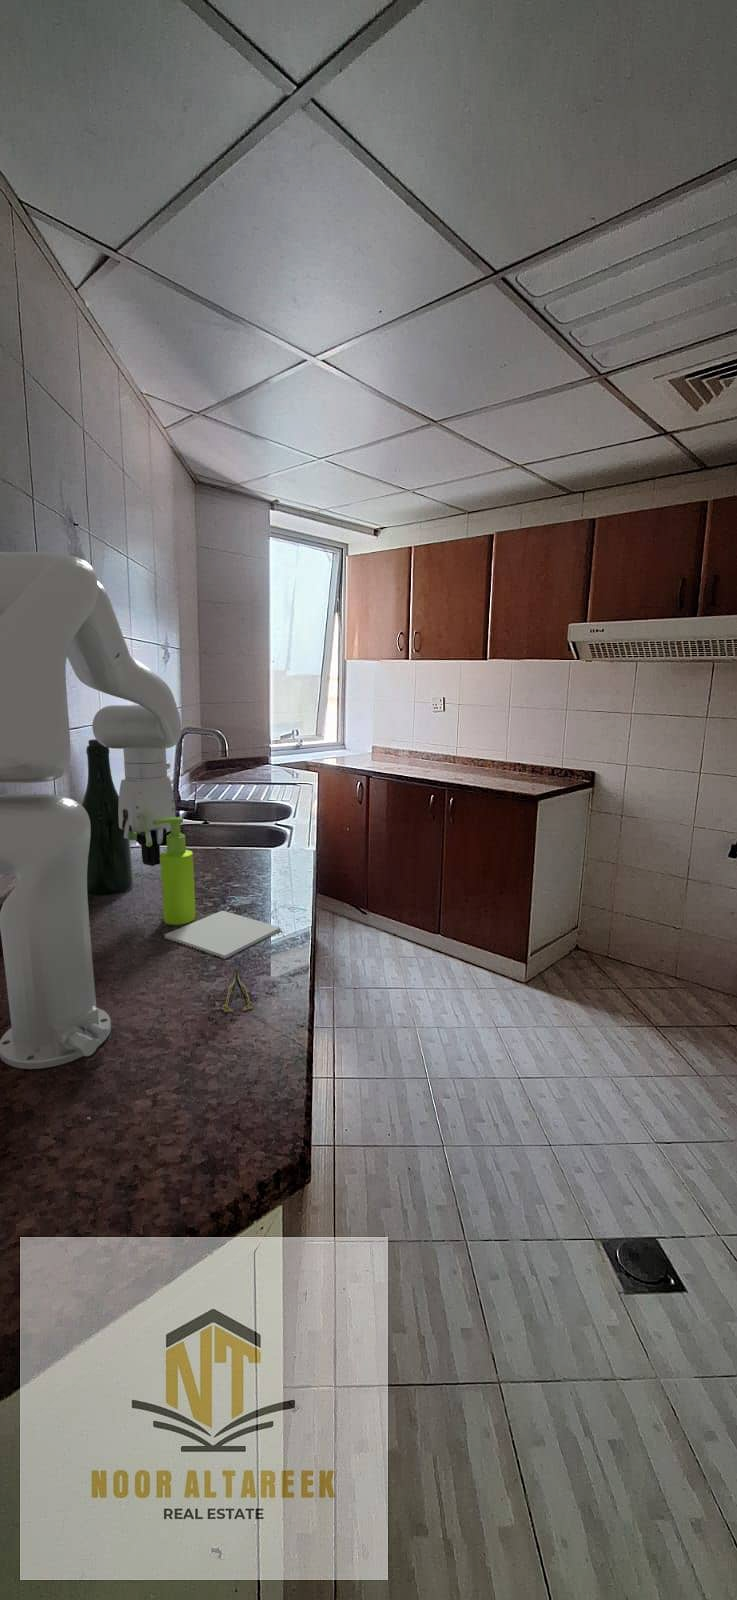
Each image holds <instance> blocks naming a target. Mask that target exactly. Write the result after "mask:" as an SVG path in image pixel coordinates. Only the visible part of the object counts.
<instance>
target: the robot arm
mask: <svg viewBox="0 0 737 1600" xmlns="http://www.w3.org/2000/svg"><path fill="white" fill-rule="evenodd" d="M110 599H111V598H110V597H109V594H108V592H107V589H105V587H104V585H102V584H101V583H100V581H98V577H97V574H96V571H95V570H94V568H93V566H92V565H91V564H89V563H88V562H87V561H86V560H84V559H82V558H80V557H78V556H73V555H69V554H66V553H55V552H42V551H41V552H37V551H0V784H37V783H47V782H50V781H55V780H57V779H59V778H61V777H63V776H64V774H65V773H66V772H67V771H68V768H69V765H70V762H71V761H70V760H71V733H70V731H71V730H70V718H69V705H68V704H69V703H68V693H67V681H66V680H67V679H66V678H67V677H66V675H67V673H66V670H67V669H66V665H67V660H68V661H69V664H70V667H72V668H71V669H72V670H73V671H74V674H75V677H76V678H77V679H78V680H79V682H81V683H82V684H83V685H85V686H86V687H89V688H91V689H94V690H96V691H98V692H101V693H104V694H107V695H109V696H113V697H116V698H120V699H123V700H126V701H130V702H131V703H134V704H135V705H134V704H132V705H130V704H129V705H125V704H123V705H120V704H119V705H108V706H104V707H102V708H100V709H99V710H98V711H97V712H96V714H95V715H94V717H93V720H92V727H91V729H92V733H93V736H94V738H95V739H96V740H97V741H98V742H99V743H100V744H102V745H103V746H105V747H108V748H109V749H116V750H117V749H118V750H120V749H121V750H123V763H124V779H121V781H120V785H119V793H118V795H119V805H118V818H119V828H120V829H121V830H125V831H124V839H128V840H130V841H136V842H137V844H138V845H140V846H141V860H142V864H144V865H147V866H150V867H155V866H156V865H161V860H160V854H161V849H160V848H161V847H160V845H161V844H162V843H163V838H164V836H165V835H166V834H167V833H169V832H171V826H170V823H162V824H158V825H154V824H153V823H152V821H154V820H157V819H161V818H168V817H176V805H175V804H176V803H175V796H174V790H173V785H172V781H171V779H170V776H168V770H169V769H171V763H170V762H167V749H170V748H172V747H173V748H174V747H175V746H176V745H177V744H178V743H179V741H180V739H181V737H182V722H181V720H182V719H181V716H180V712H179V709H178V705H177V702H176V700H175V697H174V694H173V692H172V690H171V688H170V686H169V685H168V684H167V683H166V681H164V680H163V679H162V678H161V677H160V676H159V675H157V674H156V673H155V672H154V671H153V670H151V669H150V668H149V667H147V666H146V665H145V664H143V663H142V662H140V661H138V660H137V659H136V658H134V657H132V656H131V655H130V651H129V649H128V648H129V647H128V646H127V643H126V640H125V637H124V634H123V631H122V630H121V627H120V624H119V620H118V618H117V616H116V613H115V610H114V608H113V603H112V602H111V600H110ZM81 804H82V803H80V802H78V801H76V800H74V799H72V798H70V797H67V796H63V795H57V794H49V793H6V794H4V793H3V794H0V876H8V877H9V876H11V877H12V876H13V877H16V878H17V883H16V885H15V886H14V887H13V889H12V891H11V892H10V893H9V894H8V895H7V897H6V899H5V900H4V902H3V904H2V905H1V909H0V936H1V937H0V938H1V945H2V946H1V947H2V954H3V963H4V971H5V979H6V988H7V998H8V999H7V1000H8V1007H9V1008H8V1009H9V1015H10V1017H9V1019H10V1028H9V1029H8V1030H7V1031H6V1032H5V1033H4V1034H3V1035H2V1036H1V1038H0V1059H1V1061H3V1062H4V1064H7V1065H8V1066H11V1067H12V1068H18V1069H24V1070H25V1069H26V1070H37V1069H41V1070H42V1069H46V1068H52V1067H56V1066H57V1067H58V1066H61V1065H64V1064H68V1063H71V1062H73V1061H76V1060H78V1059H79V1058H83V1057H89V1056H91V1055H93V1054H94V1053H95V1052H96V1050H97V1048H99V1046H101V1045H102V1044H103V1043H104V1042H105V1041H106V1040H107V1038H108V1036H109V1035H110V1033H111V1031H112V1022H111V1021H112V1019H111V1018H110V1017H111V1016H110V1015H109V1014H108V1013H107V1012H106V1011H105V1010H103V1009H101V1008H99V1007H97V1001H96V1000H97V999H96V987H95V976H94V962H93V961H94V960H93V951H92V950H93V949H92V939H91V938H92V937H91V927H90V925H91V924H90V913H89V912H90V911H89V900H88V899H89V898H88V897H89V895H88V894H87V865H88V855H89V846H90V836H91V826H90V818H89V815H88V813H87V811H86V810H85V808H84V807H83V806H82V805H81Z"/></svg>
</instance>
